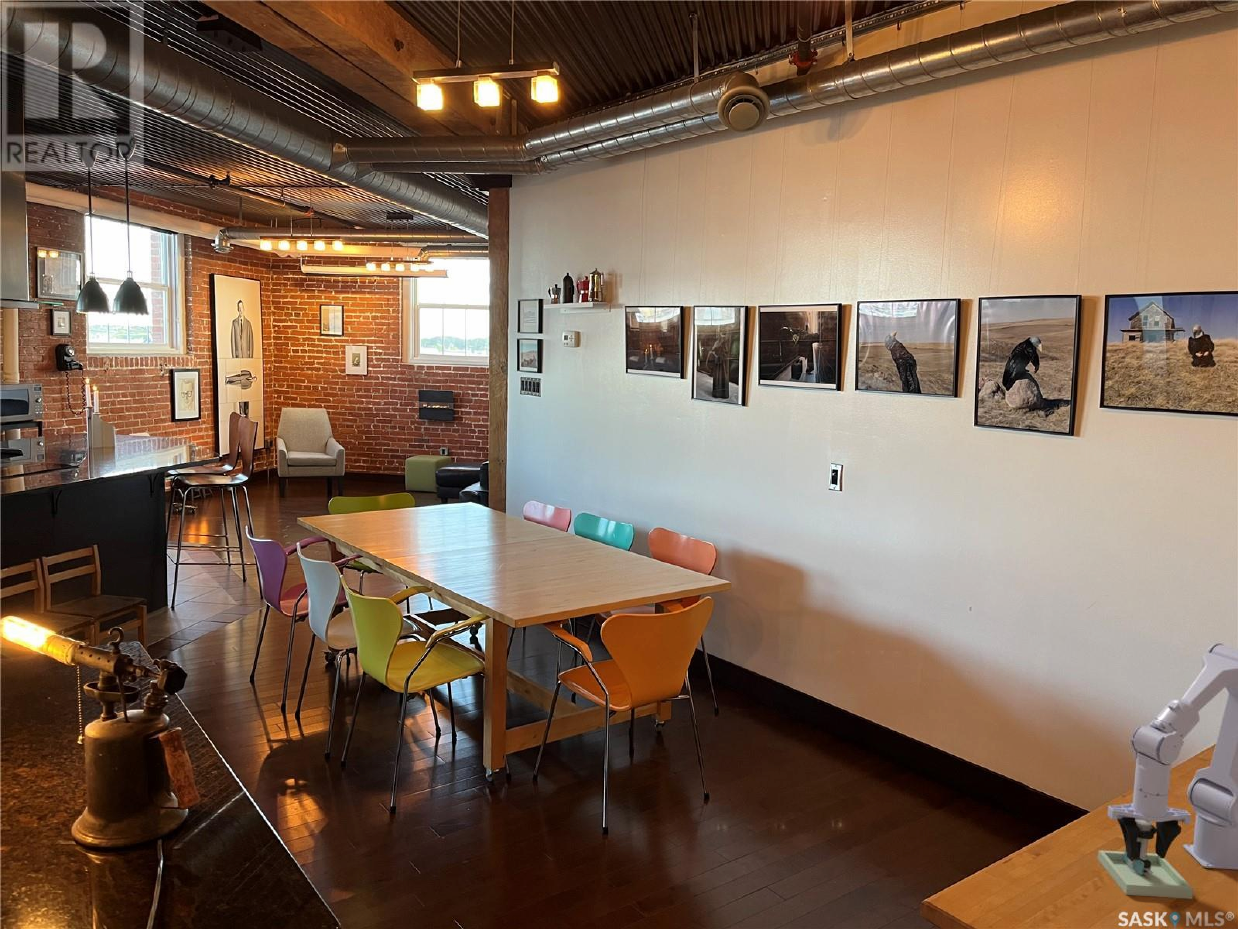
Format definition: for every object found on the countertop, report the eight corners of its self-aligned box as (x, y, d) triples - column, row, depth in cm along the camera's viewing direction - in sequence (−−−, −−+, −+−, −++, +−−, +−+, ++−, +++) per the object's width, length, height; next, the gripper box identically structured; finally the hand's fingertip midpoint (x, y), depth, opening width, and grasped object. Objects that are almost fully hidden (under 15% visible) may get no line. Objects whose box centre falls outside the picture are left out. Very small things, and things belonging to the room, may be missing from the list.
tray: (1159, 863, 179) (1160, 854, 179) (1192, 899, 167) (1193, 889, 167) (1097, 859, 180) (1098, 850, 180) (1125, 894, 168) (1126, 884, 168)
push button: (1162, 879, 173) (1168, 831, 172) (1138, 881, 172) (1144, 832, 171) (1138, 860, 179) (1143, 813, 178) (1114, 862, 178) (1119, 814, 177)
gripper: (1179, 781, 175) (1173, 846, 177) (1102, 777, 176) (1097, 841, 178) (1199, 798, 168) (1192, 866, 170) (1119, 794, 169) (1113, 861, 171)
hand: (1145, 854), depth 173 cm, fingers closed on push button, 5 cm apart
